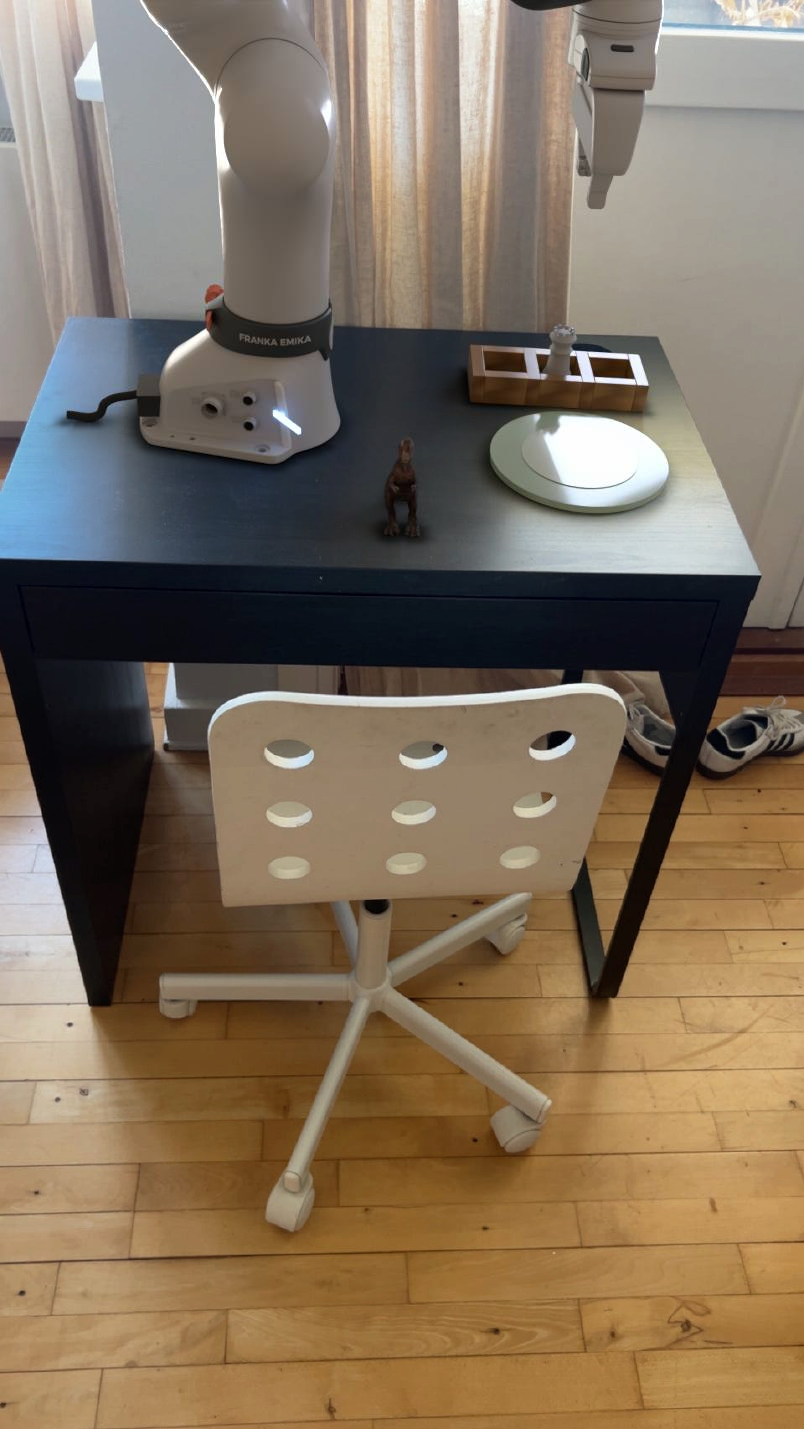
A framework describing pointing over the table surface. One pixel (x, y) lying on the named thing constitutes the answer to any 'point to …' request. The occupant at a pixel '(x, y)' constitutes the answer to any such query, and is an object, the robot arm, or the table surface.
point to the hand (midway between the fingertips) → (589, 190)
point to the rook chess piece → (560, 351)
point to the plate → (579, 462)
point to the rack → (556, 379)
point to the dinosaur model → (402, 490)
